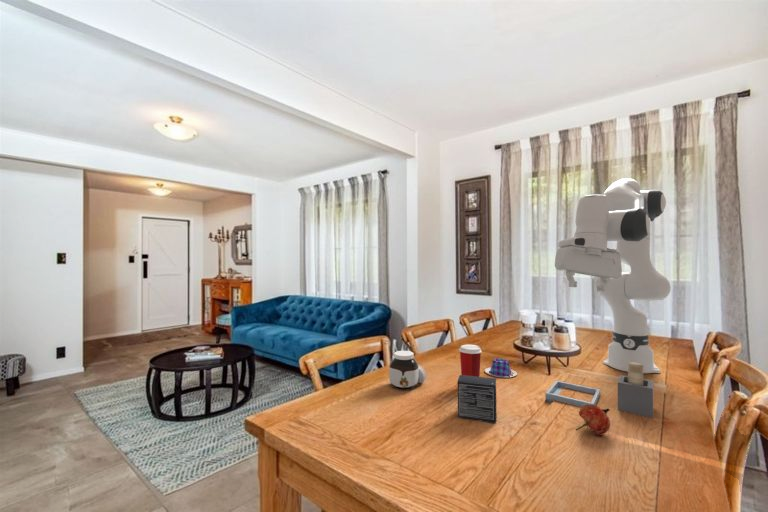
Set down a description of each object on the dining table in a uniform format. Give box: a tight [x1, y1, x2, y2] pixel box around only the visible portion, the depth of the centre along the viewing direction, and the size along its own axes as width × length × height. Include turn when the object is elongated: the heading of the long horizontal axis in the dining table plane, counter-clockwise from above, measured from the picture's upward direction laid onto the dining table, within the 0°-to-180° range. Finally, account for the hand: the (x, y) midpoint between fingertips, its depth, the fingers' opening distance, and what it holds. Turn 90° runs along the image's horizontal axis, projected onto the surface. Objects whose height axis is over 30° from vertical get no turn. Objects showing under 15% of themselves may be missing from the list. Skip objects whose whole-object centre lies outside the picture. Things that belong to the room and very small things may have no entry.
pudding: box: [484, 358, 518, 378], centre depth 133 cm, size 12×12×5 cm
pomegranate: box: [575, 404, 611, 436], centre depth 88 cm, size 7×7×10 cm
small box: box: [456, 374, 498, 424], centre depth 97 cm, size 11×6×10 cm, turn 71°
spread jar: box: [388, 350, 427, 391], centre depth 121 cm, size 12×11×12 cm
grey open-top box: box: [617, 374, 655, 419], centre depth 99 cm, size 8×8×9 cm
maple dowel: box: [627, 362, 644, 386], centre depth 99 cm, size 4×4×13 cm
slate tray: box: [545, 380, 601, 408], centre depth 108 cm, size 14×13×2 cm
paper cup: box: [458, 344, 482, 377], centre depth 119 cm, size 8×8×14 cm
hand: (586, 289), depth 103 cm, fingers open, 8 cm apart
